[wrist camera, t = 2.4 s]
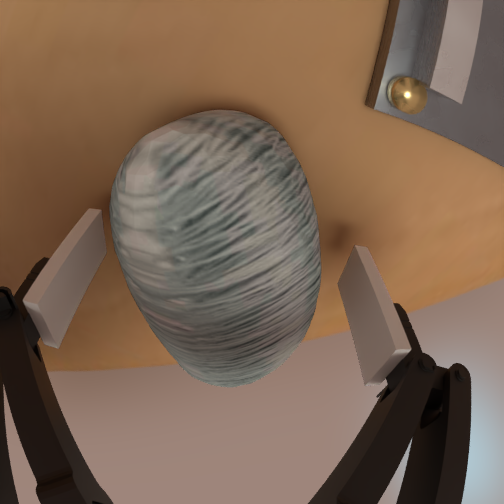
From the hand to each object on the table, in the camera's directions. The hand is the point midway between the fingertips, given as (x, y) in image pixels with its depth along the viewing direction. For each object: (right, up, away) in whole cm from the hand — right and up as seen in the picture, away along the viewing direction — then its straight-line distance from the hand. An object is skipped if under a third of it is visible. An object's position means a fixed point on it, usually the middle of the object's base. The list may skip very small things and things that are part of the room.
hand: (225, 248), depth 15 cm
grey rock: (0, +2, +2) cm, 3 cm away
